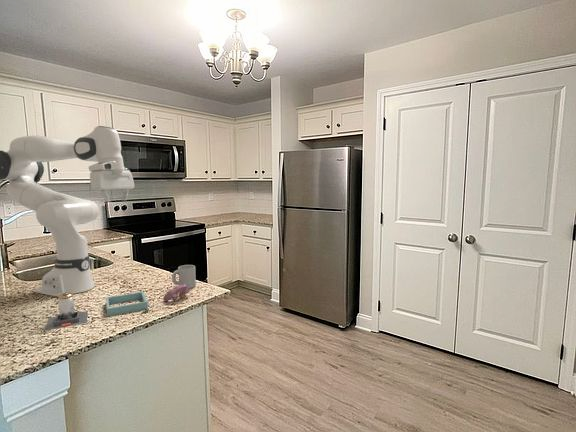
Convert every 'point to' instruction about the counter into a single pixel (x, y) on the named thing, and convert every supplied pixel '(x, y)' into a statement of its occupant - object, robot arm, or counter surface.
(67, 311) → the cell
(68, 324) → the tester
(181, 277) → the cup
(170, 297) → the video game controller
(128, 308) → the bin
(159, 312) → the counter surface
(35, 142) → the robot arm
